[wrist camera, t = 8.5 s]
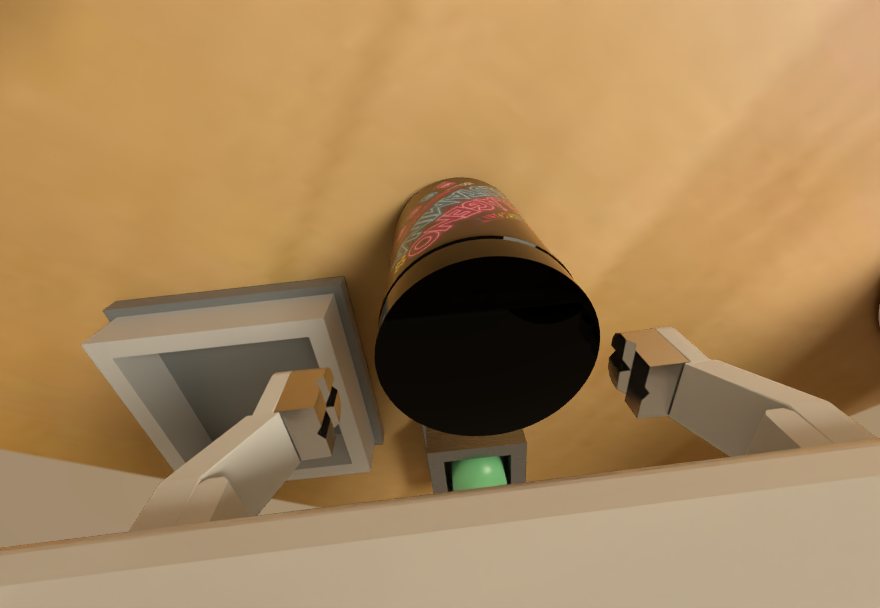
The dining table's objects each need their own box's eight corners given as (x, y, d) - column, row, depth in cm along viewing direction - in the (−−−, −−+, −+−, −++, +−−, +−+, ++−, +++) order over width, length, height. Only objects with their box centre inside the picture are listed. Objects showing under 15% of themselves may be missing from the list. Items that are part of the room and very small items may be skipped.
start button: (499, 435, 26) (506, 466, 24) (500, 467, 28) (507, 500, 25) (448, 440, 26) (450, 473, 24) (452, 473, 28) (455, 505, 25)
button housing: (518, 398, 26) (531, 439, 23) (517, 461, 30) (528, 503, 27) (421, 409, 26) (421, 451, 23) (431, 471, 30) (433, 513, 27)
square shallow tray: (343, 276, 21) (331, 308, 18) (384, 433, 27) (379, 475, 24) (115, 301, 21) (64, 337, 18) (210, 451, 27) (184, 496, 24)
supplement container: (543, 212, 20) (650, 319, 11) (476, 309, 22) (515, 458, 13) (431, 146, 18) (444, 207, 9) (373, 262, 20) (338, 398, 11)
